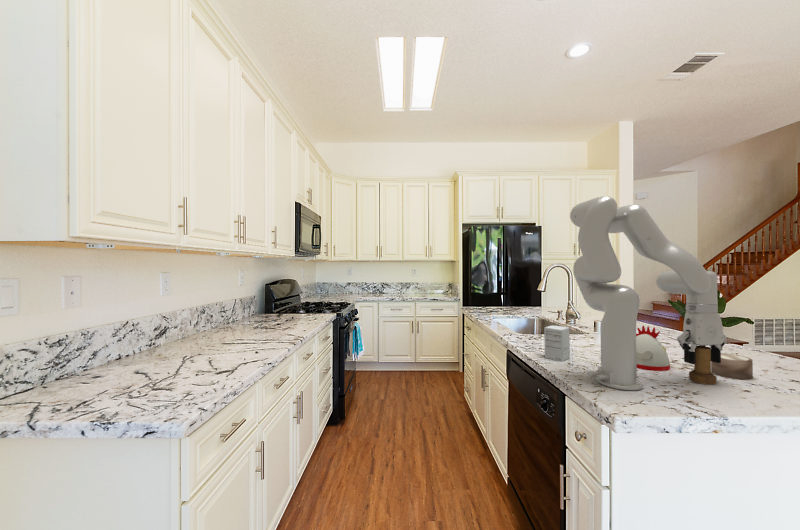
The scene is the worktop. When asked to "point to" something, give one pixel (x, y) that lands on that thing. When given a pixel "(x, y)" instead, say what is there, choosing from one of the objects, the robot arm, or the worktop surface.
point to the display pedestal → (733, 367)
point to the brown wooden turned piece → (702, 367)
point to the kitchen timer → (650, 351)
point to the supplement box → (557, 342)
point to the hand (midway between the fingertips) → (702, 362)
